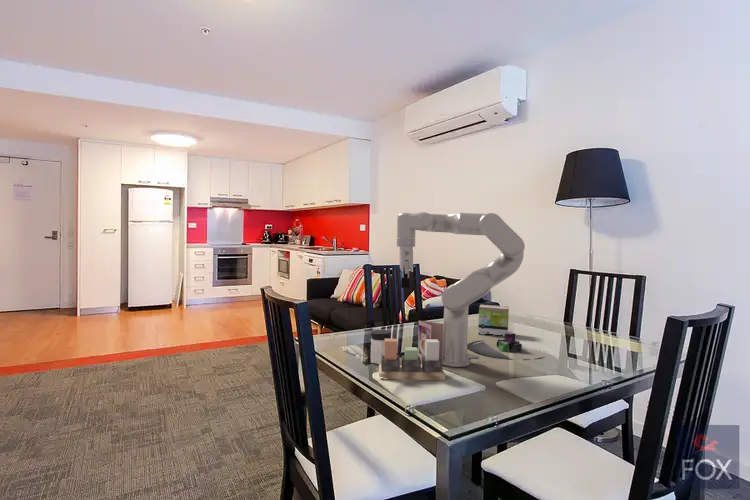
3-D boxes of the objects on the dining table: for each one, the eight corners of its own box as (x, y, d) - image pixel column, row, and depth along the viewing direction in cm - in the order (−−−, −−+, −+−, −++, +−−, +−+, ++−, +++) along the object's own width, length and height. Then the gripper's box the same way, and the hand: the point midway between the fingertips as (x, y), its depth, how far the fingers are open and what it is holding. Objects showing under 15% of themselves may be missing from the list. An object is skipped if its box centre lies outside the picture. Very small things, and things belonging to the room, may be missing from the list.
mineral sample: (555, 363, 174) (555, 340, 174) (467, 356, 181) (467, 334, 181) (539, 347, 208) (540, 329, 208) (466, 342, 215) (466, 324, 215)
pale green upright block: (416, 366, 157) (416, 347, 157) (417, 370, 153) (418, 350, 152) (404, 366, 157) (404, 347, 157) (405, 369, 153) (405, 350, 152)
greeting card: (416, 355, 181) (416, 320, 181) (431, 354, 184) (432, 319, 183) (428, 363, 170) (429, 325, 170) (444, 361, 173) (445, 324, 172)
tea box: (477, 334, 224) (478, 306, 223) (479, 330, 233) (479, 303, 233) (507, 337, 219) (508, 308, 219) (507, 333, 229) (508, 305, 228)
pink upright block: (396, 357, 157) (396, 338, 157) (396, 361, 152) (397, 341, 152) (384, 357, 157) (384, 338, 157) (384, 360, 152) (384, 341, 152)
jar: (365, 362, 169) (366, 332, 169) (375, 357, 176) (376, 328, 176) (385, 365, 165) (386, 335, 165) (395, 360, 172) (395, 331, 172)
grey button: (436, 358, 157) (437, 339, 157) (438, 361, 153) (439, 342, 152) (424, 358, 157) (425, 339, 157) (426, 361, 153) (426, 342, 152)
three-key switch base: (440, 370, 160) (440, 354, 160) (445, 380, 149) (445, 363, 149) (378, 369, 160) (379, 353, 160) (379, 379, 149) (379, 361, 149)
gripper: (417, 243, 168) (416, 290, 169) (413, 243, 183) (412, 285, 184) (398, 243, 168) (397, 289, 169) (395, 242, 183) (395, 285, 184)
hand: (405, 287), depth 176 cm, fingers closed
